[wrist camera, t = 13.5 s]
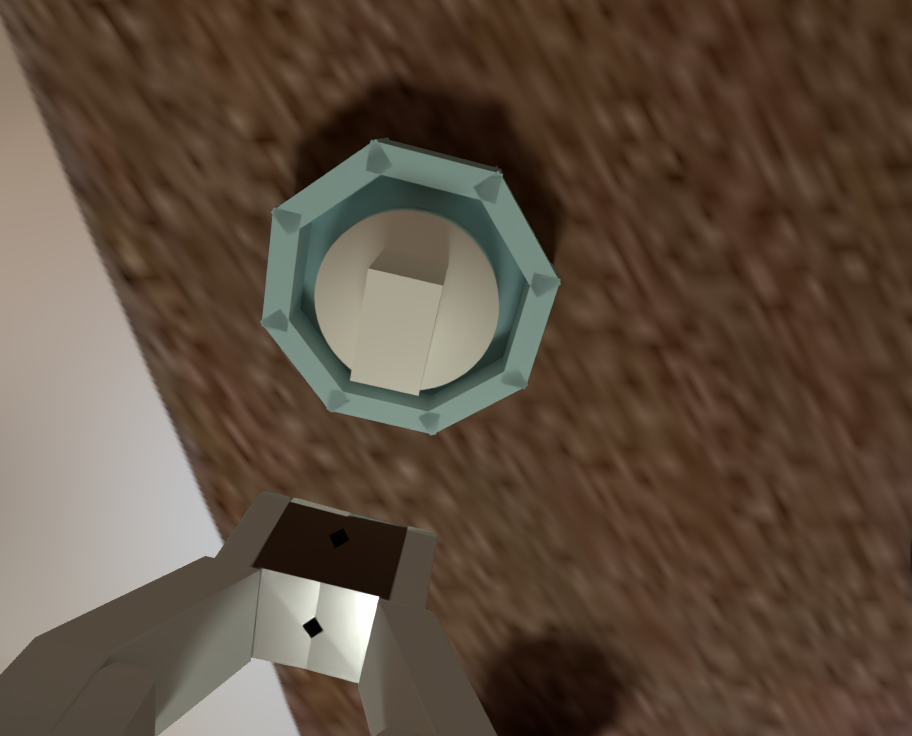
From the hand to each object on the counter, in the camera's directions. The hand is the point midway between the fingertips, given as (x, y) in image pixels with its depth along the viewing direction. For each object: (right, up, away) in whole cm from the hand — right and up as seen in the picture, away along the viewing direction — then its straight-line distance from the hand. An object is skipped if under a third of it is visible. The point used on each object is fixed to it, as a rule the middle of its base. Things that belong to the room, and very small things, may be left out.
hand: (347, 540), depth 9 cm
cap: (0, +6, +13) cm, 14 cm away
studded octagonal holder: (0, +6, +14) cm, 15 cm away
